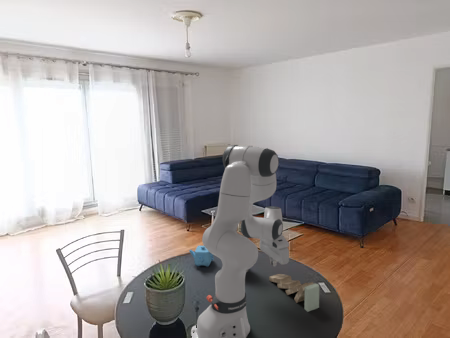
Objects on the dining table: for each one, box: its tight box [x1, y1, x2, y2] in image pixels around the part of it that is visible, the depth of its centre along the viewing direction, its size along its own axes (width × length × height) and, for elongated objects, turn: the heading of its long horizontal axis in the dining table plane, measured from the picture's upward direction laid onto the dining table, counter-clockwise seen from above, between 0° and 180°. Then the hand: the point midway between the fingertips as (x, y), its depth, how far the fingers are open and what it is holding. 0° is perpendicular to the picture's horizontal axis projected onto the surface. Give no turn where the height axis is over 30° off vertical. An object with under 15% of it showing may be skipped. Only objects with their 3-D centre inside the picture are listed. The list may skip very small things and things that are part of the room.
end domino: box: [304, 283, 320, 313], centre depth 127 cm, size 2×6×10 cm, turn 116°
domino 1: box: [268, 273, 292, 284], centre depth 147 cm, size 2×6×10 cm
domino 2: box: [276, 279, 302, 290], centre depth 141 cm, size 2×6×10 cm
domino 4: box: [294, 281, 315, 304], centre depth 131 cm, size 2×6×10 cm, turn 116°
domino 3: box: [285, 282, 308, 296], centre depth 136 cm, size 2×6×10 cm
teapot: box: [188, 245, 215, 268], centre depth 170 cm, size 18×14×10 cm
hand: (273, 265), depth 151 cm, fingers closed
